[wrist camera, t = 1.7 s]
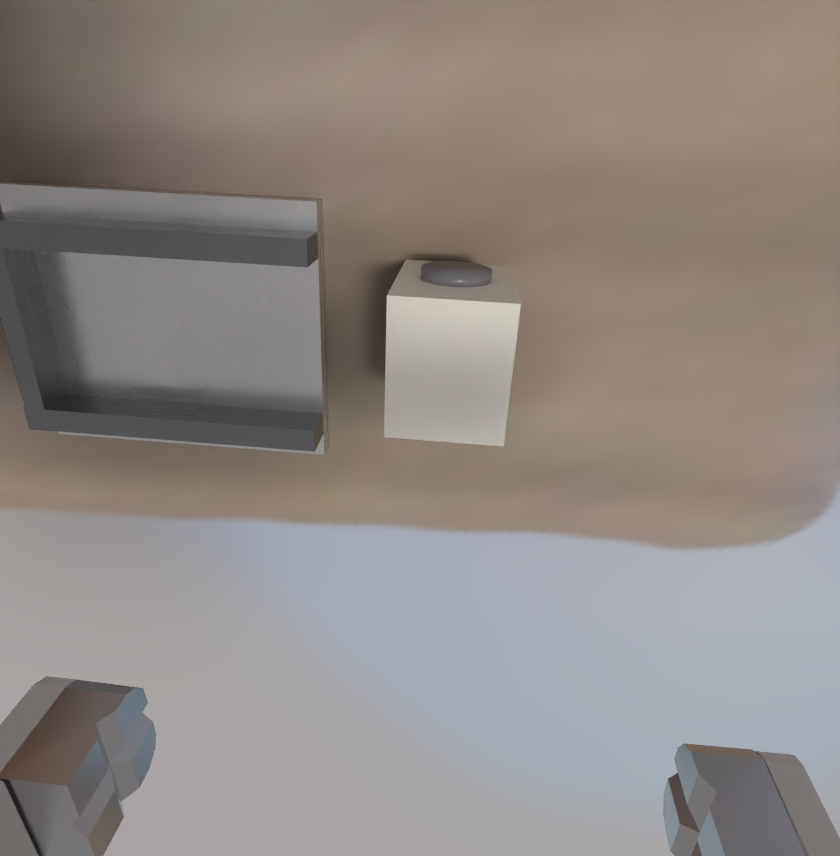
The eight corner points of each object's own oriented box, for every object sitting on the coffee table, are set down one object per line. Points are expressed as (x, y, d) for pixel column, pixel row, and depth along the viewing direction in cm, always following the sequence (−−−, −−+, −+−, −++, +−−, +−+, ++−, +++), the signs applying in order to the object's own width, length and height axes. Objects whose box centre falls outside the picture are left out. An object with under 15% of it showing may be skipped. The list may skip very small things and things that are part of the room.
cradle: (69, 425, 34) (35, 451, 32) (10, 181, 28) (-38, 186, 26) (328, 446, 34) (315, 473, 31) (321, 199, 28) (305, 206, 25)
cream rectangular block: (402, 375, 31) (384, 437, 25) (406, 249, 28) (387, 283, 22) (497, 382, 31) (503, 446, 25) (511, 256, 28) (522, 292, 22)
